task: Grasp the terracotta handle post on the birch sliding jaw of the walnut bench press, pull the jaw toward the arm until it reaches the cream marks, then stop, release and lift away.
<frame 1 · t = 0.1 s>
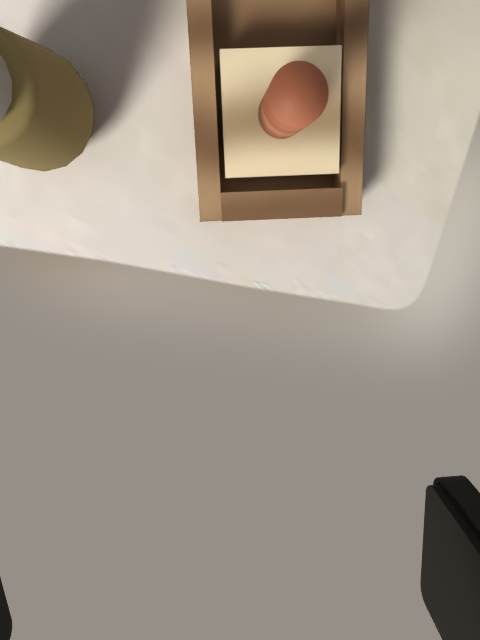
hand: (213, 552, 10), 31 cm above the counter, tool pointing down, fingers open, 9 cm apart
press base: (271, 37, 35), on the counter
squeeze bottle: (54, 118, 36), on the counter
carriage: (285, 109, 29), point 7 cm above the counter, slide at 0.0 cm
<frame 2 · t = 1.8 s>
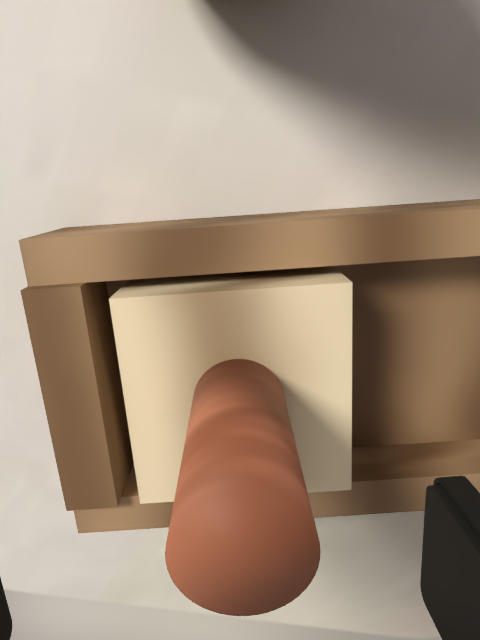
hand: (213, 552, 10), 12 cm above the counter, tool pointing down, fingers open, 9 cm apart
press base: (365, 339, 21), on the counter
carriage: (239, 428, 14), point 7 cm above the counter, slide at 0.0 cm
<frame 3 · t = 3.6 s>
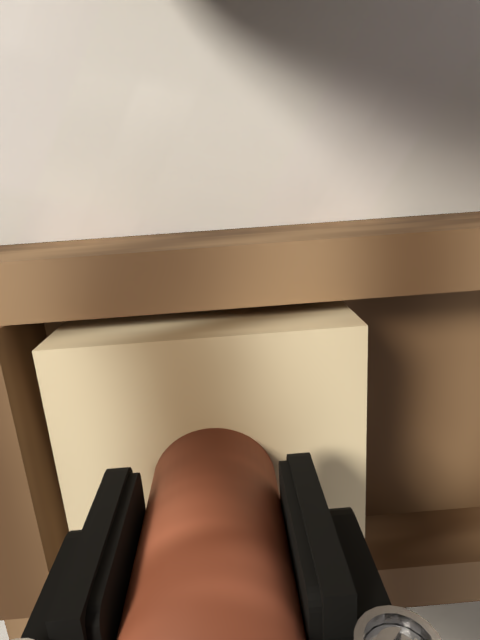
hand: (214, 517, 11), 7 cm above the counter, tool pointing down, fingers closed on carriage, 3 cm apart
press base: (374, 380, 17), on the counter
carriage: (214, 535, 10), point 7 cm above the counter, slide at 0.0 cm, touching gripper
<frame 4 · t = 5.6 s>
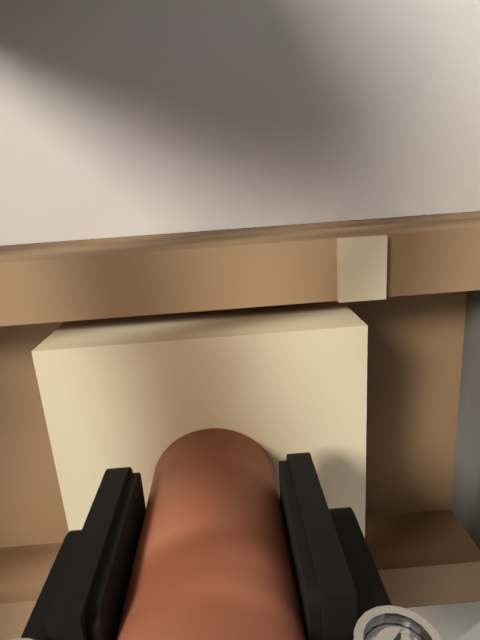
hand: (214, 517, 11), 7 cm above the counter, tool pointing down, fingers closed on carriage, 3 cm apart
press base: (179, 396, 17), on the counter
carriage: (213, 535, 10), point 7 cm above the counter, slide at 7.4 cm, touching gripper
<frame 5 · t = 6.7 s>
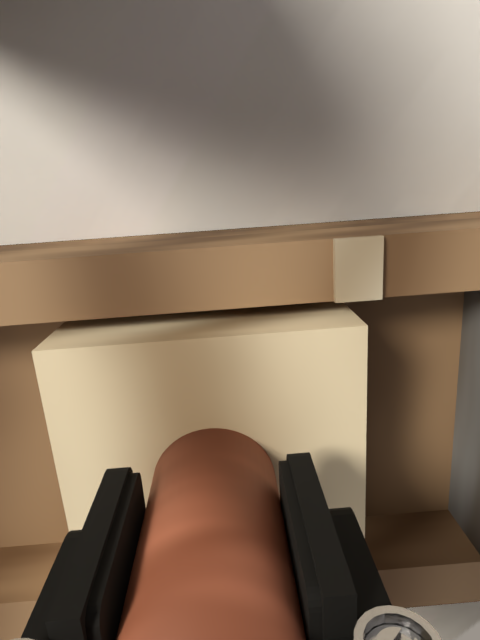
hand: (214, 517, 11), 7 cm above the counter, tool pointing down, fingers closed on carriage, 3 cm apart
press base: (176, 396, 17), on the counter
carriage: (213, 535, 10), point 7 cm above the counter, slide at 7.5 cm, touching gripper
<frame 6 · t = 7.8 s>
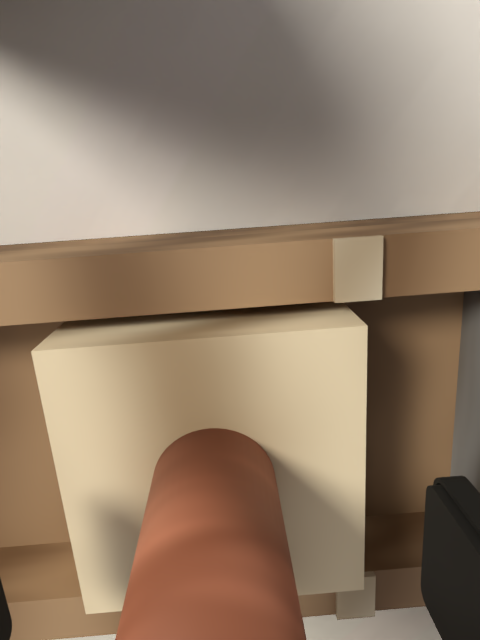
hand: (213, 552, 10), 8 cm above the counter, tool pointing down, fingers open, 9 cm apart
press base: (176, 396, 17), on the counter
carriage: (213, 535, 10), point 7 cm above the counter, slide at 7.5 cm
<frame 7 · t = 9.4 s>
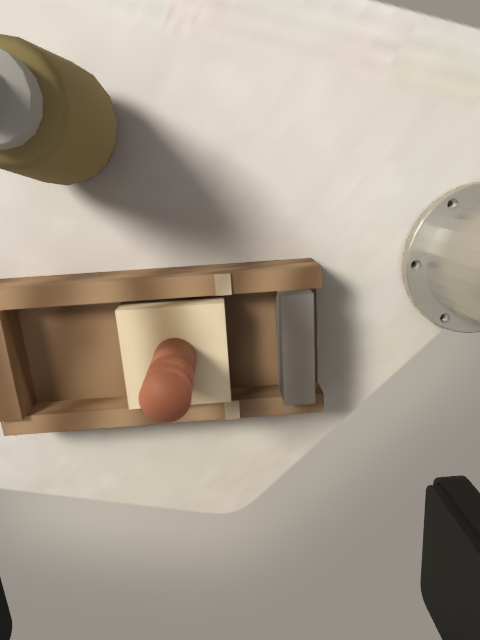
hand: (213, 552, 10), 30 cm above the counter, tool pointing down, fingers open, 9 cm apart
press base: (163, 336, 40), on the counter
squeeze bottle: (74, 130, 35), on the counter
carriage: (172, 367, 33), point 7 cm above the counter, slide at 7.5 cm
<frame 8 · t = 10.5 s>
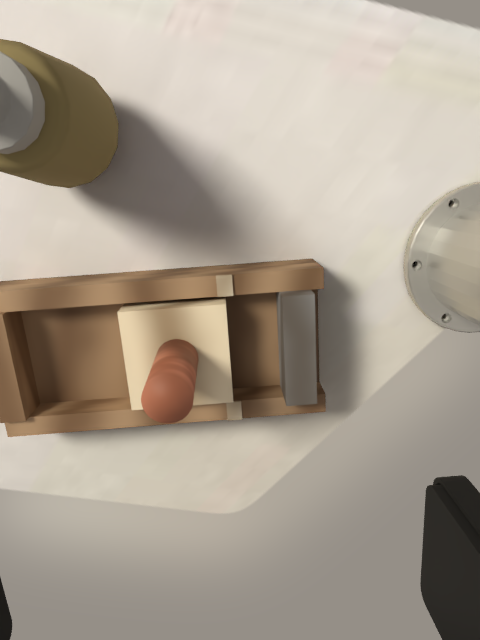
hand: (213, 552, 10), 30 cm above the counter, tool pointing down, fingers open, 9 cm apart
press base: (165, 337, 40), on the counter
squeeze bottle: (76, 133, 35), on the counter
carriage: (175, 368, 33), point 7 cm above the counter, slide at 7.5 cm
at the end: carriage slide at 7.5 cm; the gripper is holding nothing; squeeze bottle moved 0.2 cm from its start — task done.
